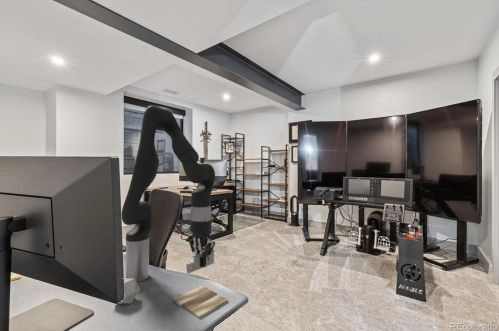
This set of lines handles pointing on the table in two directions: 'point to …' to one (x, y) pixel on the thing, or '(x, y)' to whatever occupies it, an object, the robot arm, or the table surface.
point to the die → (130, 290)
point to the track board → (200, 301)
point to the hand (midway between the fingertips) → (200, 265)
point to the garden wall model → (196, 263)
